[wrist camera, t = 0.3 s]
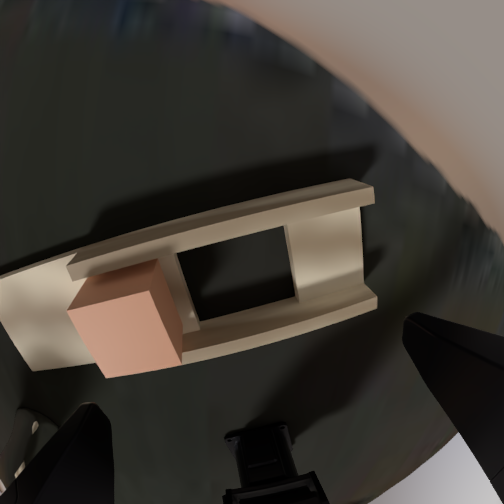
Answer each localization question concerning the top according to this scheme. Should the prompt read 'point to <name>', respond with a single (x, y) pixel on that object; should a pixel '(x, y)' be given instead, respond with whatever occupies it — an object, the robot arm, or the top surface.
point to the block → (129, 320)
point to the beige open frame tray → (165, 248)
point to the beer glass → (24, 444)
